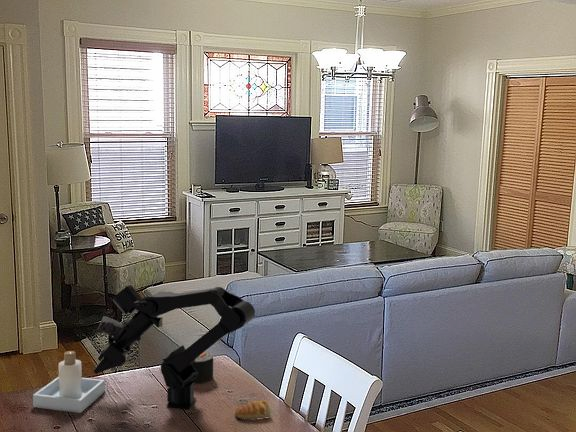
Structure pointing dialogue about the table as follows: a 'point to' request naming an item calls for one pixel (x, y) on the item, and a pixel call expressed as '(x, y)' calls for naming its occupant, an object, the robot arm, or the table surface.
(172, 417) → the table surface
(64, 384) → the dressing bottle
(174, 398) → the robot arm
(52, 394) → the bin
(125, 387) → the table surface
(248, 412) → the pastry
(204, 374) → the sushi
